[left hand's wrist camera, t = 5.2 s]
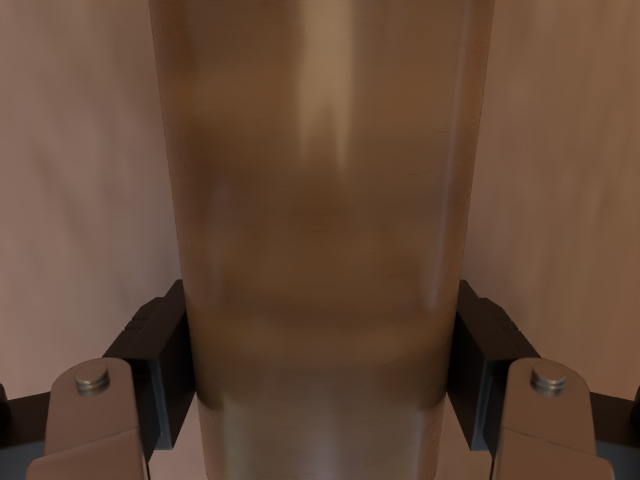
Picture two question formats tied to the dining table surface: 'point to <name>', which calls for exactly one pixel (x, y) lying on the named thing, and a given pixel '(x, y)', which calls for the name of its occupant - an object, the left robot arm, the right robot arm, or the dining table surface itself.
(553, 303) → the dining table surface
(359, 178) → the rod
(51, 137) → the dining table surface
